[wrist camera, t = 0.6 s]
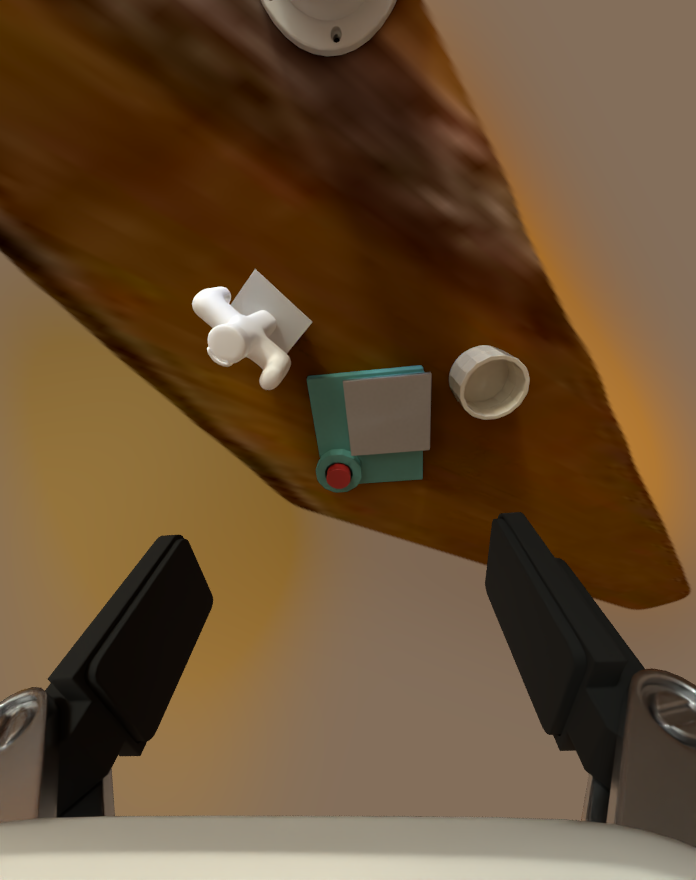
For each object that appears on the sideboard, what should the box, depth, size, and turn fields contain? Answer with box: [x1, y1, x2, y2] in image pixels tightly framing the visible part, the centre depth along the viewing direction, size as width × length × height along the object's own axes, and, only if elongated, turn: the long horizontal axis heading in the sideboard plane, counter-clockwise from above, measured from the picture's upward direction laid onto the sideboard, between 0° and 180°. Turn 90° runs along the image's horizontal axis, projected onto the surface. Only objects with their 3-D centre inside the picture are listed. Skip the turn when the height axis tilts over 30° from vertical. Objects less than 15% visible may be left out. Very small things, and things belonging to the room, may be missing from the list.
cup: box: [449, 345, 530, 420], centre depth 37 cm, size 7×7×5 cm
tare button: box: [326, 463, 351, 489], centre depth 43 cm, size 3×3×2 cm
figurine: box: [192, 269, 312, 390], centre depth 30 cm, size 7×9×15 cm
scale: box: [307, 365, 423, 492], centre depth 42 cm, size 16×14×3 cm
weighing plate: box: [343, 371, 431, 456], centre depth 40 cm, size 10×10×4 cm
